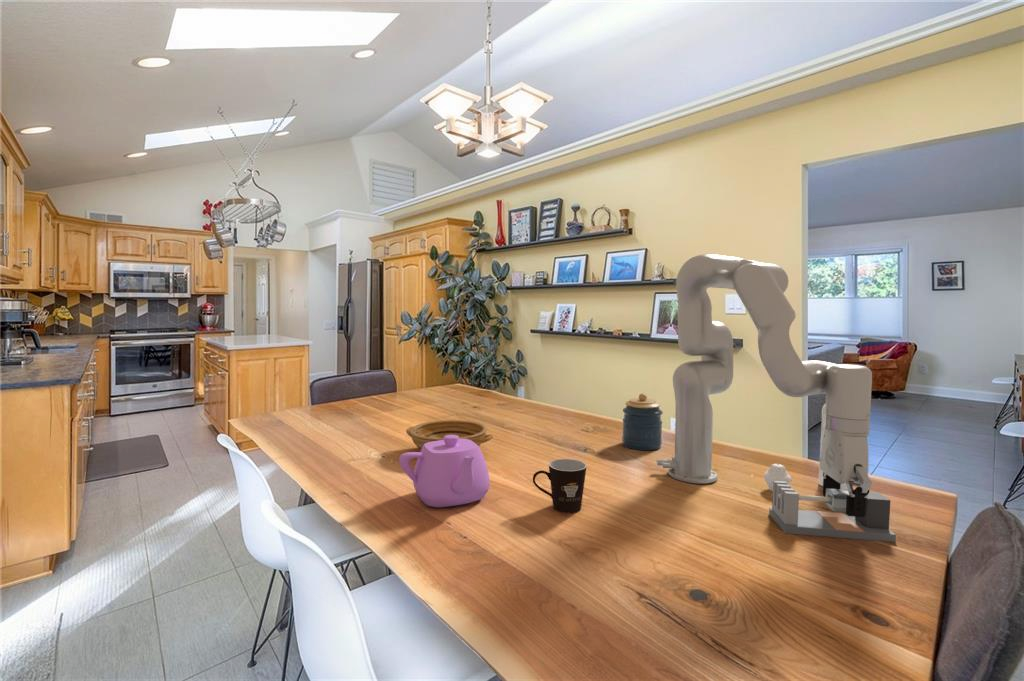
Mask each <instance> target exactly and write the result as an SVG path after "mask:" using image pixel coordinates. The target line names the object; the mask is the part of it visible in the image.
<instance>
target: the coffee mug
mask: <svg viewBox="0 0 1024 681" xmlns="http://www.w3.org/2000/svg"><path fill="white" fill-rule="evenodd" d="M548 470H549V471H546V470H538V471H536V472H534V474H533V477H532V482H533V484H534V486H535V487H536V488H537V489H538V490H539V491H541V492H543V493H544V494H545V495H547V496H549V497H550V498H551V500H552V508H553V509H554V510H555V511H556V512H558V513H562V514H575V513H578V512H580V511H581V509H582V504H583V503H582V502H583V495H584V488H585V483H586V482H585V481H586V475H587V474H586V473H587V463H585V462H583V461H582V460H578V459H573V458H558V459H553V460H551V461H549V462H548ZM540 474H544V475H546V477H548V480H549V481H550V489H551V493H550V492H549V491H547V490H545V489H544V488H543V487H541V486H539V485H538V484H537V483H536V477H537V476H538V475H540Z"/></svg>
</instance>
